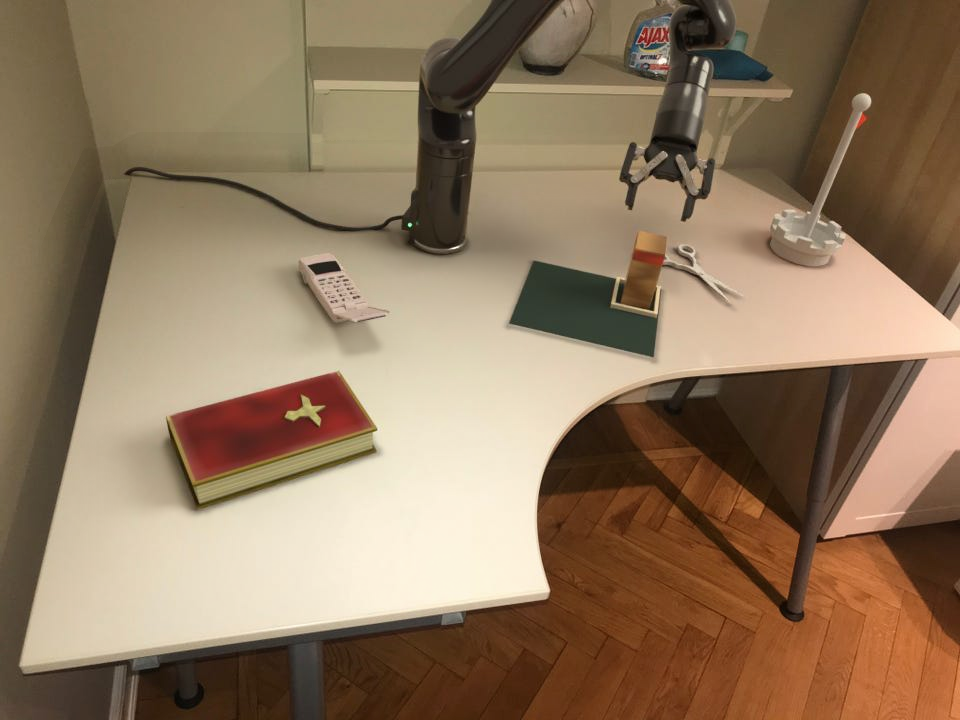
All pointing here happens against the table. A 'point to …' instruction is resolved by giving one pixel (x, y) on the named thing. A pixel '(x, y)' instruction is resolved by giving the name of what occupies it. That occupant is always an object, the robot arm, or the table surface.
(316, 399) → the hardcover book
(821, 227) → the flag stand
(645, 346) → the mat
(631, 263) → the box
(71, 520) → the table surface
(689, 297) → the table surface
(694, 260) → the scissors
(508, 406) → the table surface
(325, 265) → the mobile phone
